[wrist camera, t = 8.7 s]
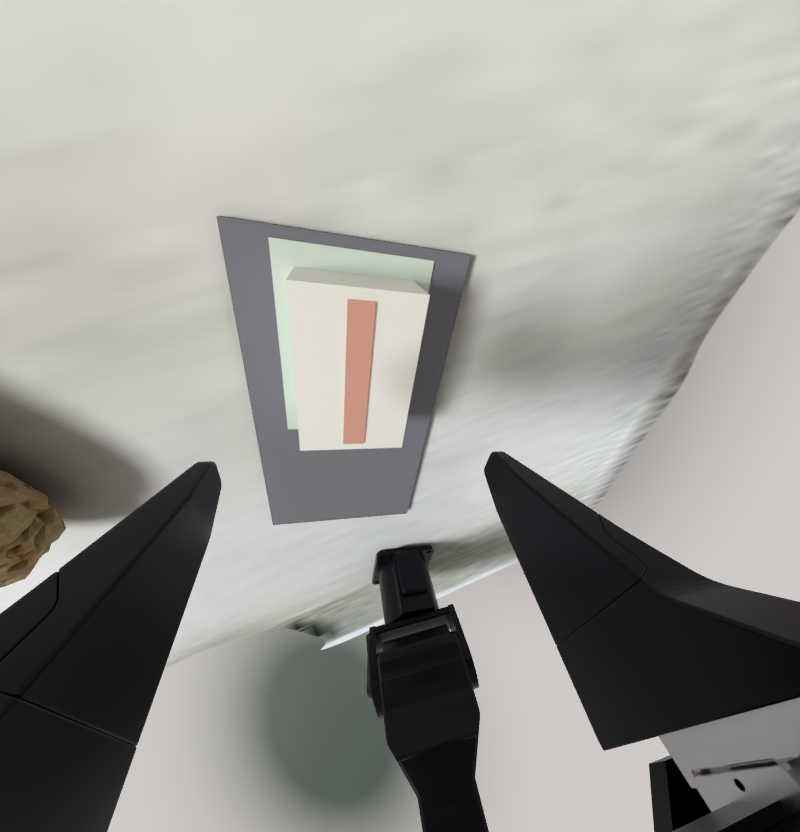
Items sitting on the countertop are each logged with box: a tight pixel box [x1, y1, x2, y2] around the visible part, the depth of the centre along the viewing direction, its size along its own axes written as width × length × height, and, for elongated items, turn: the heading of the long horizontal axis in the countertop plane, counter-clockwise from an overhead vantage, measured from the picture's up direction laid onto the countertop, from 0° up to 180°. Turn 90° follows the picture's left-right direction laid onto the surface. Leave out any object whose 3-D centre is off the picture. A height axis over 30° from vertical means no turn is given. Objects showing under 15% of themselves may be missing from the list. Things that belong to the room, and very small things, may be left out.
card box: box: [286, 267, 430, 451], centre depth 16 cm, size 6×9×3 cm, turn 172°
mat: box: [217, 216, 471, 525], centre depth 20 cm, size 22×12×1 cm, turn 172°
